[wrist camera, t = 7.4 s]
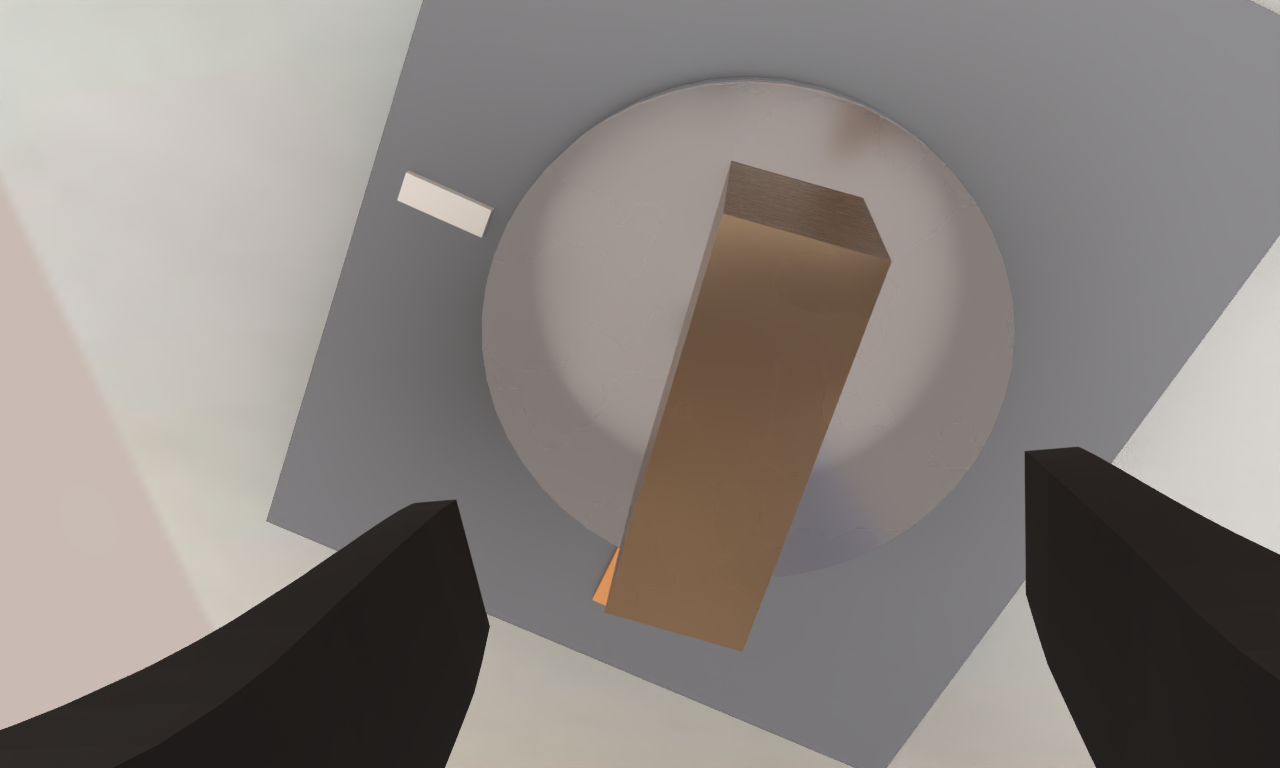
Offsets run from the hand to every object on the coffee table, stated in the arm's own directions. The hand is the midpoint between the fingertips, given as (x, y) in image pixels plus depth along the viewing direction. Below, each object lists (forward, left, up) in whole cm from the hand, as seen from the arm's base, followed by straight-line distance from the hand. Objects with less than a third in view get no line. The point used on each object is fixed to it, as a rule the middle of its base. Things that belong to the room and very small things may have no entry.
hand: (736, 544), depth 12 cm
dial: (0, 0, -8) cm, 8 cm away
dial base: (0, 0, -9) cm, 9 cm away
